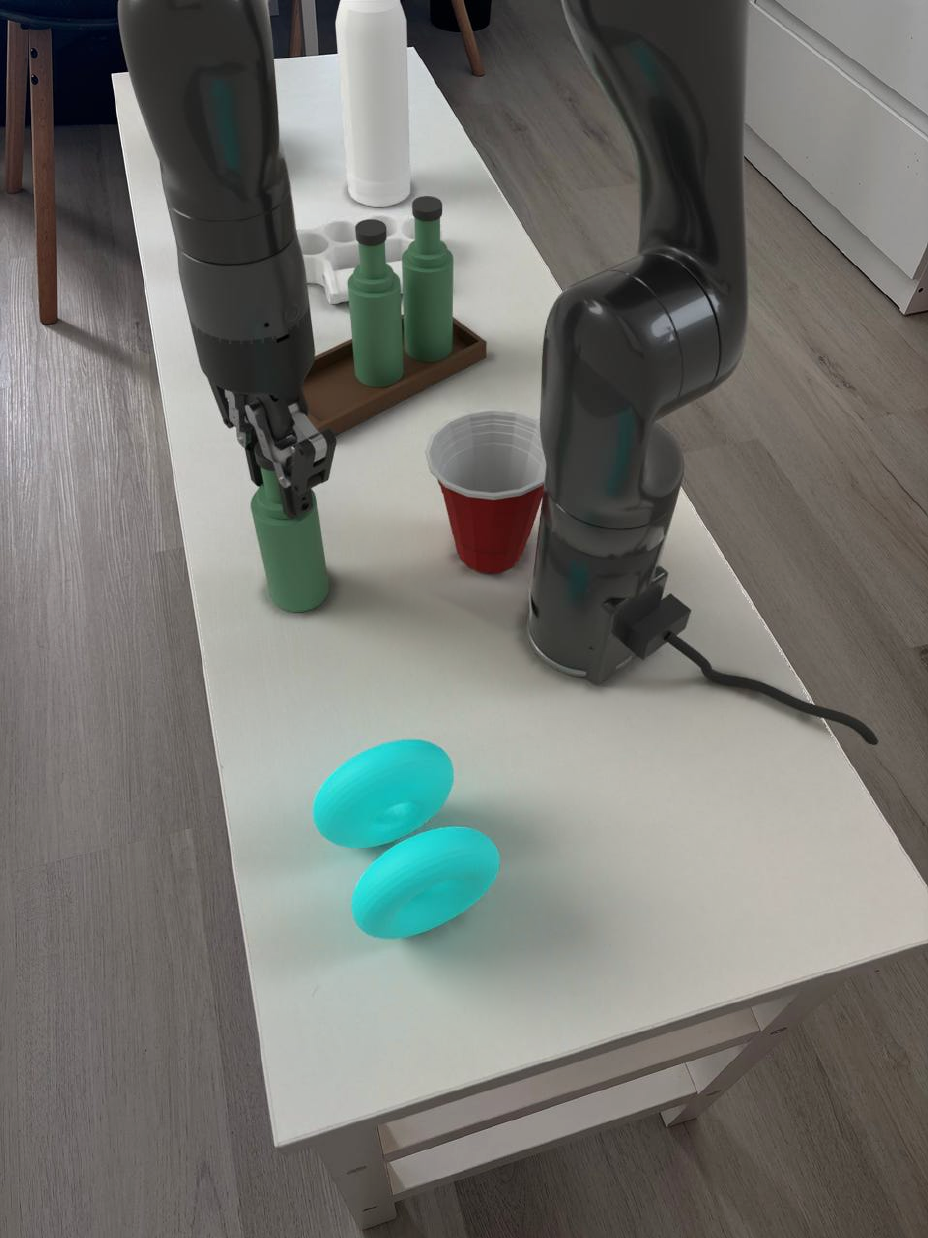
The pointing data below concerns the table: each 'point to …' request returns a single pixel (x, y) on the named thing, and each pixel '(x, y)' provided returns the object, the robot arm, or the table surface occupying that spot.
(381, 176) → the bottle
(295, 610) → the loose bottle
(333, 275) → the white piece
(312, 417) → the tray
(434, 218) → the tray bottle
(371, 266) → the tray bottle
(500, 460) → the plastic cup
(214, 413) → the table surface
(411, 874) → the turquoise yo-yo
